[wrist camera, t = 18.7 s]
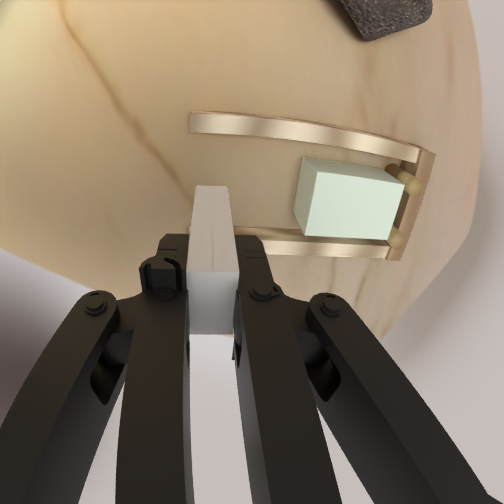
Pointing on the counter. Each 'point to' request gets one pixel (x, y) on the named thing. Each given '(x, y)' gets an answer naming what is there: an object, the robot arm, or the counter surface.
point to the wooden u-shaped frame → (412, 156)
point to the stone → (386, 15)
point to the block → (345, 200)
